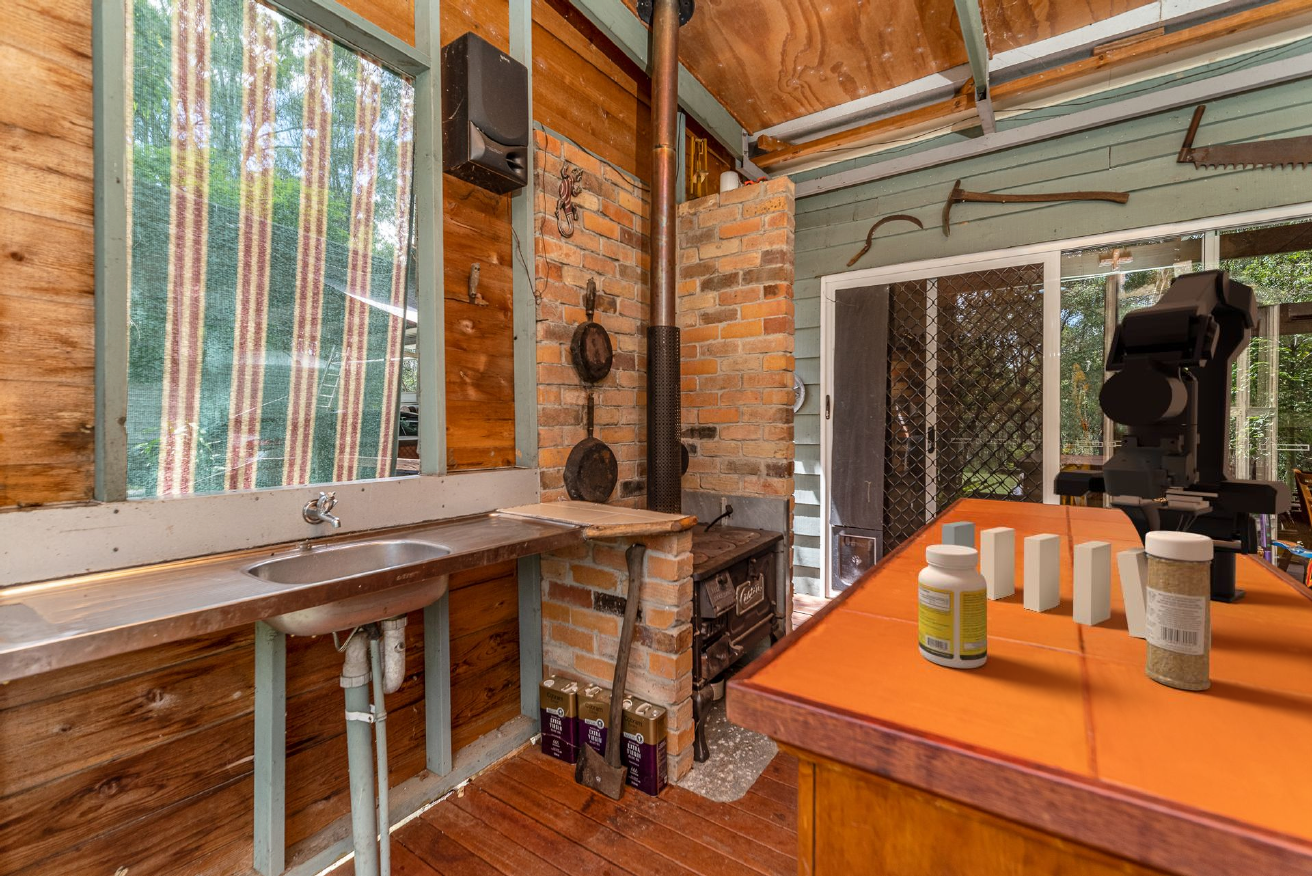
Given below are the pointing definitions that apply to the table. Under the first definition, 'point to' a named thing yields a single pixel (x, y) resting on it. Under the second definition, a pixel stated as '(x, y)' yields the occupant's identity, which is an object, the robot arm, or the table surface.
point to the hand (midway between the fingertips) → (1158, 568)
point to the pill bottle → (952, 608)
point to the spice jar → (1178, 609)
